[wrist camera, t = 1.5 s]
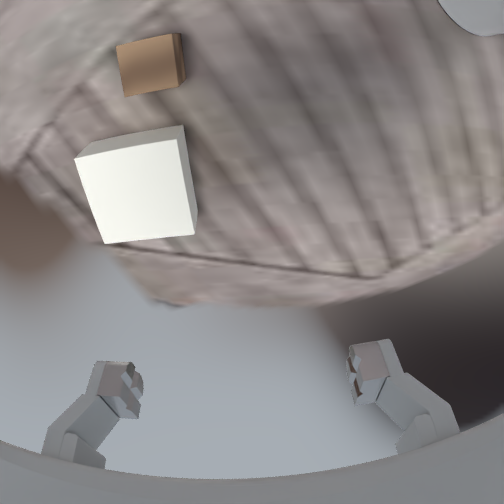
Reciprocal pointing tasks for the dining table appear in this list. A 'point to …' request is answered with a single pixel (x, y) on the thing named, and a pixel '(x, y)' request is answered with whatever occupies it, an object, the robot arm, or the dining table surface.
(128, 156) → the base block
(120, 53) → the walnut cube
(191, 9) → the dining table surface
